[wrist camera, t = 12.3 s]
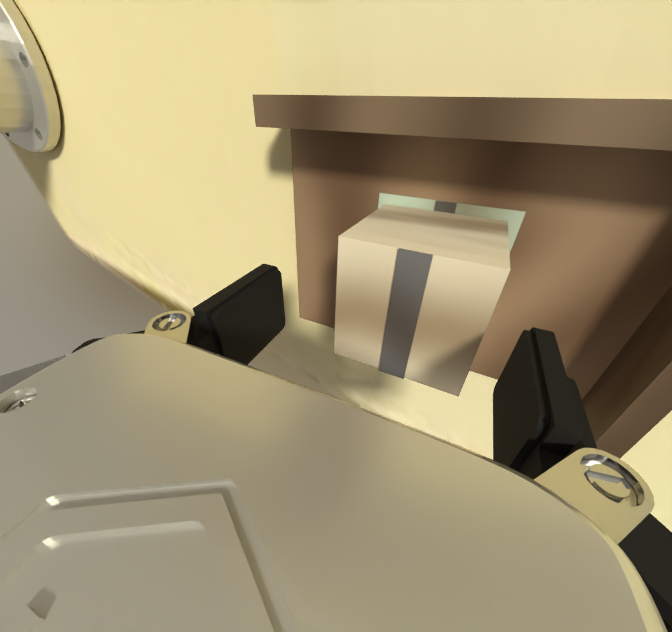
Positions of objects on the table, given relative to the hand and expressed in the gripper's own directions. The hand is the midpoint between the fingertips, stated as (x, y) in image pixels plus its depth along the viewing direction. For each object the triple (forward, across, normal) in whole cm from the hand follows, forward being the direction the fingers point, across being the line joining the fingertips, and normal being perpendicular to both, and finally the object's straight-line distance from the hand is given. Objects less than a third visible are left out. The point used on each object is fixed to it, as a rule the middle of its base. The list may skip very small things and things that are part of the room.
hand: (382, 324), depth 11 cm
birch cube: (+7, -1, 0) cm, 7 cm away
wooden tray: (+7, -2, 0) cm, 8 cm away
